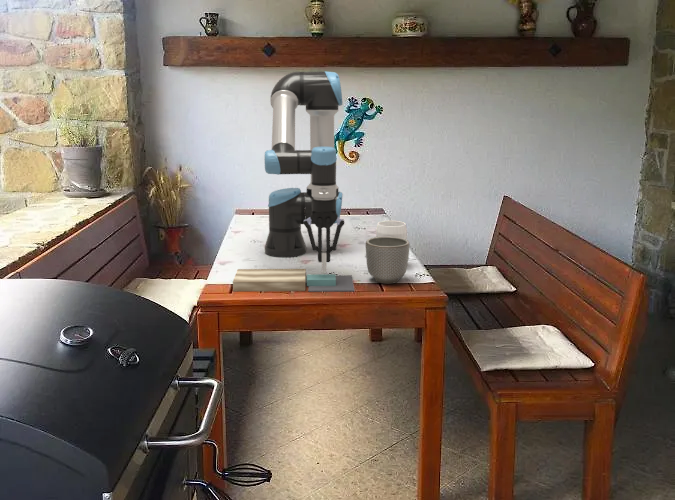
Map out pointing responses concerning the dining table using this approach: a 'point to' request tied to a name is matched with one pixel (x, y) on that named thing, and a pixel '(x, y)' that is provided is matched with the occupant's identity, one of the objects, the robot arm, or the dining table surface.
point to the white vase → (391, 229)
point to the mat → (342, 285)
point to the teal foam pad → (321, 279)
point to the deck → (270, 280)
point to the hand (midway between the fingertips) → (324, 271)
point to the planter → (387, 258)
